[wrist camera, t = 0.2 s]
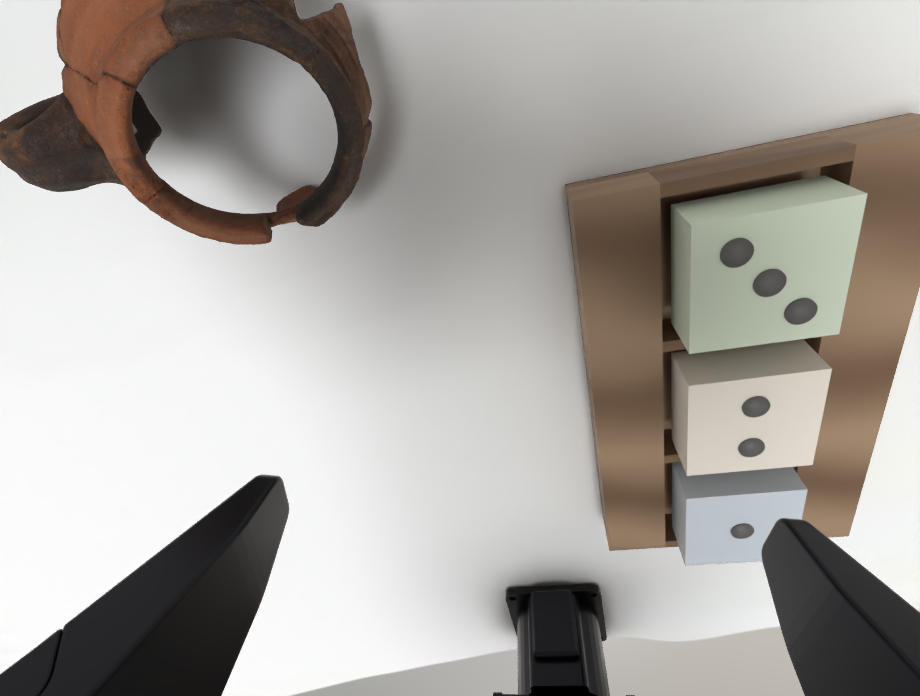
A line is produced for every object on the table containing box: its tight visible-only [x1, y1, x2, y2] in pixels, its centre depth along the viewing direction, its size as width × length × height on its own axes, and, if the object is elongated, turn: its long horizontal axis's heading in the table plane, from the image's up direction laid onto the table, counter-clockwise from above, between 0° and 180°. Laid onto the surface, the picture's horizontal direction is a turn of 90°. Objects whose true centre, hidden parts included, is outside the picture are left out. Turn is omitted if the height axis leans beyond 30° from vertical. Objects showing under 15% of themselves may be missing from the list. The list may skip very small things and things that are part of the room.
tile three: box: [671, 175, 867, 354], centre depth 17 cm, size 5×5×2 cm
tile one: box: [672, 462, 808, 565], centre depth 24 cm, size 5×5×2 cm
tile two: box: [671, 339, 832, 476], centre depth 21 cm, size 5×5×2 cm
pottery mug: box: [0, 0, 372, 245], centre depth 17 cm, size 12×10×8 cm
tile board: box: [566, 113, 920, 551], centre depth 22 cm, size 20×12×2 cm, turn 13°
